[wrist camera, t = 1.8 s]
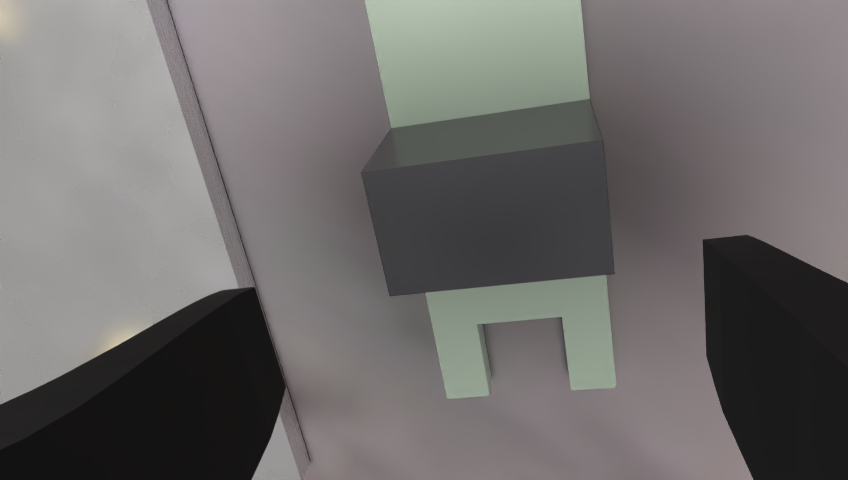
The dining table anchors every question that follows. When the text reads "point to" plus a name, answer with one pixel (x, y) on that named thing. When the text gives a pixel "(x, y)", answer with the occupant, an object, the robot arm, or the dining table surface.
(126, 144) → the chassis
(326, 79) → the dining table surface
